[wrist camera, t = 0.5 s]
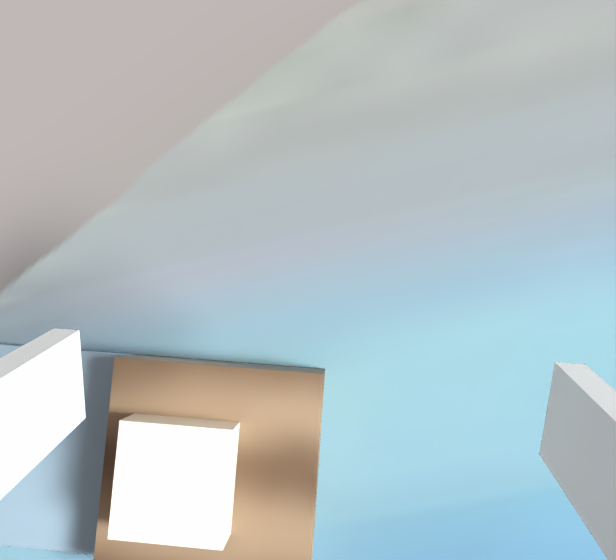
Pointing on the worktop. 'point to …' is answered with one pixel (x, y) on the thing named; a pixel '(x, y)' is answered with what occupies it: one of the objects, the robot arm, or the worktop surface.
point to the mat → (64, 475)
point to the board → (250, 457)
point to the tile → (174, 481)
